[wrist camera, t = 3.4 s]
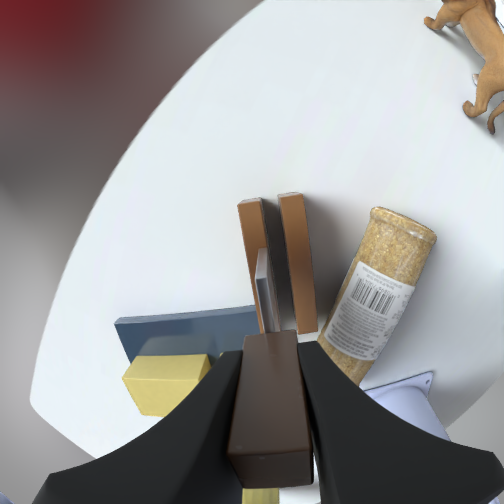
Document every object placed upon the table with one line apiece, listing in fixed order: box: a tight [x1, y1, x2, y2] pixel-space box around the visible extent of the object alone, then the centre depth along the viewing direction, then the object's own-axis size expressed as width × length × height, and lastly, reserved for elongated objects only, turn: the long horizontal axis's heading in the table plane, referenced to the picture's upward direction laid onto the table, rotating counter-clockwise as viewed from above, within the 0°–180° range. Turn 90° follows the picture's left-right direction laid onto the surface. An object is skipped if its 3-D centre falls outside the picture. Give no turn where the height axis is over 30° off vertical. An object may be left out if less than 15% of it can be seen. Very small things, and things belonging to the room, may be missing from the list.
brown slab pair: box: [237, 192, 318, 334], centre depth 16 cm, size 8×3×3 cm, turn 10°
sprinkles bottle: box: [317, 207, 437, 387], centre depth 16 cm, size 5×5×14 cm
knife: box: [225, 247, 314, 489], centre depth 9 cm, size 6×2×9 cm, turn 10°
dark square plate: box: [114, 305, 261, 367], centre depth 20 cm, size 10×12×1 cm
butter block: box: [122, 354, 211, 417], centre depth 18 cm, size 4×6×3 cm, turn 100°
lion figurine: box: [424, 0, 504, 134], centre depth 8 cm, size 15×5×9 cm, turn 25°
